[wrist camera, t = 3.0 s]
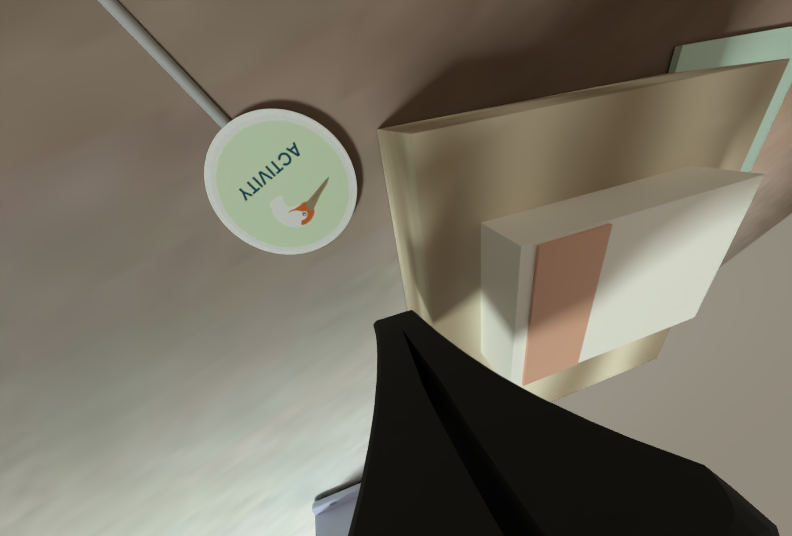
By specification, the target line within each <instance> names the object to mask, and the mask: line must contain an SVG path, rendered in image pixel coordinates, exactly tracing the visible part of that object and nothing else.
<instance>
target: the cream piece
mask: <svg viewBox="0 0 792 536" xmlns="http://www.w3.org/2000/svg"><path fill="white" fill-rule="evenodd" d="M789 60H790V58H788V59H780V60H772V61H764V62H756V63H748V64H740V65H732V66H724V67H715V68H707V69H699V70H691V71H683V72H675V73H667V74H661V75H656V76H651V77H645V78H640V79H635V80H630V81H625V82H619V83H614V84H609V85H604V86H599V87H594V88H588V89H583V90H578V91H573V92H568V93H562V94H557V95H552V96H547V97H542V98H536V99H531V100H526V101H521V102H516V103H510V104H505V105H500V106H495V107H490V108H485V109H479V110H474V111H469V112H464V113H459V114H453V115H448V116H443V117H438V118H433V119H427V120H422V121H417V122H412V123H407V124H401V125H396V126H391V127H386V128H381V129H377V132H378V138H379V144H380V150H381V156H382V162H383V168H384V174H385V180H386V186H387V191H388V197H389V203H390V209H391V215H392V221H393V227H394V233H395V239H396V245H397V251H398V257H399V263H400V269H401V275H402V281H403V287H404V292H405V298H406V304H407V310H408V311H409V310H413V311H415V312H416V313H417V314H418V315H419V316H420V317H421V318H422V319H423V320H425V321H426V322H427V323H428V324H429V325H430V326H431V327H433V328H434V329H435V330H436V331H438V332H439V333H440V334H441V335H443V336H444V337H445V338H446V339H448V340H449V341H450V342H452V343H453V344H454V345H456V346H457V347H458V348H460V349H461V350H462V351H464V352H465V353H467V354H468V355H470V356H471V357H473V358H474V359H476V360H477V361H479V362H480V363H482V364H483V365H485V366H486V367H488V368H489V369H491V370H492V371H494V372H496V371H495V370H494V369H493V367H492V366H491V365H490V363H489V362H488V361H487V360H486V358H485V357H484V356H483V354H482V353H481V223H482V222H486V221H489V220H493V219H497V218H500V217H504V216H508V215H511V214H515V213H519V212H523V211H526V210H530V209H534V208H537V207H541V206H545V205H548V204H552V203H556V202H559V201H563V200H567V199H571V198H574V197H578V196H582V195H585V194H589V193H593V192H596V191H600V190H604V189H607V188H611V187H615V186H618V185H622V184H626V183H630V182H633V181H637V180H641V179H644V178H648V177H652V176H655V175H659V174H663V173H666V172H670V171H674V170H678V169H681V168H685V167H689V166H700V167H708V168H716V169H725V170H733V171H740V170H741V168H742V165H743V163H744V161H745V159H746V157H747V154H748V152H749V150H750V148H751V145H752V143H753V141H754V139H755V136H756V134H757V132H758V130H759V127H760V125H761V123H762V121H763V118H764V116H765V114H766V112H767V109H768V107H769V105H770V103H771V100H772V98H773V96H774V94H775V91H776V89H777V87H778V85H779V82H780V80H781V78H782V76H783V74H784V71H785V69H786V67H787V65H788V62H789ZM669 329H670V327H669V328H666V329H664V330H661V331H659V332H656V333H654V334H651V335H648V336H646V337H643V338H641V339H638V340H636V341H633V342H631V343H628V344H626V345H623V346H621V347H618V348H615V349H613V350H610V351H608V352H605V353H603V354H600V355H598V356H595V357H593V358H590V359H588V360H585V361H582V362H580V363H578V365H575V366H573V367H570V368H568V369H565V370H563V371H560V372H557V373H555V374H552V375H550V376H547V377H545V378H542V379H540V380H537V381H535V382H532V383H530V384H527V385H525V386H523V385H522V386H520V387H522V388H524V389H525V390H527V391H529V392H531V393H533V394H535V395H537V396H539V397H540V398H542V399H544V400H546V401H549V402H552V401H555V400H557V399H559V398H562V397H564V396H567V395H569V394H571V393H574V392H576V391H579V390H581V389H583V388H586V387H588V386H591V385H593V384H596V383H598V382H600V381H603V380H605V379H607V378H610V377H612V376H614V375H617V374H619V373H622V372H625V371H627V370H629V369H632V368H634V367H636V366H639V365H641V364H644V363H646V362H649V361H651V360H653V359H656V358H657V356H658V354H659V351H660V349H661V347H662V345H663V343H664V340H665V338H666V336H667V333H668V331H669Z"/></svg>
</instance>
